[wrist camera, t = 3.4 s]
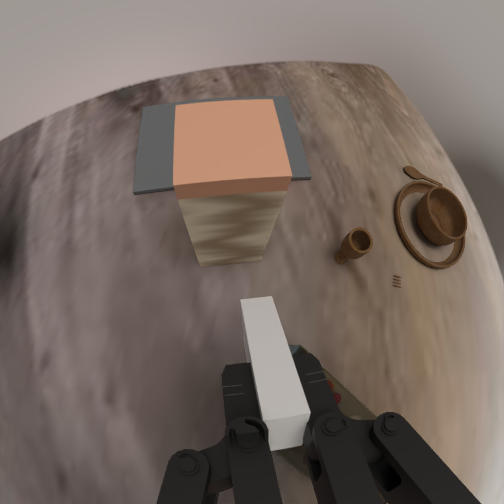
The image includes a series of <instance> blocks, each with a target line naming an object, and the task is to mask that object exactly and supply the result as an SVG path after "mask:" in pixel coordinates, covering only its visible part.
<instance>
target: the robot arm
mask: <svg viewBox="0 0 504 504" xmlns="http://www.w3.org/2000/svg"><path fill="white" fill-rule="evenodd" d="M240 301H241V315H242V329H243V342H244V348H245V353H246V359H247V363H242V364H232V365H226V366H225V369H224V371H223V373H222V385H223V395H224V406H225V416H226V426H227V427H226V431H225V436H224V438H223V439H222V441H220V442H219V443H218V444H216V445H214V446H212V447H210V448H207V449H204V450H201V451H195V450H193V449H184V450H181V451H178V452H176V453H175V454H174V455H173V456H172V457H171V459H170V460H169V462H168V466H167V469H166V472H165V476H164V479H163V483H162V486H161V490H160V493H159V496H158V500H157V503H156V504H217V500H218V495H219V492H221V491H224V490H226V489H229V488H232V487H233V491H234V499H235V504H282V500H281V495H280V491H279V487H278V482H277V478H276V473H275V469H274V464H273V460H272V455H271V451H274V450H280V449H286V448H291V447H296V446H301V445H302V443H303V442H304V445H305V449H306V452H305V455H304V458H303V464H306V463H307V466H308V470H309V473H310V477H311V480H312V484H313V487H314V491H315V494H316V498H317V501H318V504H383V502H382V499H381V497H380V494H381V495H382V496H383V497H384V499H385V500H386V501H387V503H388V504H481V503H480V502H479V501H478V500H477V499H476V498H475V496H474V495H473V494H472V493H471V492H470V491H469V490H468V489H467V488H466V486H465V485H464V484H463V483H462V482H461V481H460V480H459V479H458V477H457V476H456V475H455V474H454V473H453V472H452V471H451V470H450V469H449V467H448V466H447V465H446V464H445V463H444V462H443V461H442V460H441V459H440V457H439V456H438V455H437V454H436V453H435V452H434V451H433V450H432V449H431V447H430V446H429V445H428V444H427V443H426V442H425V441H424V440H423V439H422V437H421V436H420V435H419V434H418V433H417V432H416V431H415V430H414V429H413V427H412V426H411V425H410V424H409V423H408V422H407V421H406V420H405V419H404V418H403V417H402V416H401V415H399V414H397V413H394V412H386V413H383V414H381V415H380V416H378V417H377V418H376V420H357V419H352V418H349V417H347V416H346V415H344V414H343V413H342V412H341V411H340V409H339V407H338V405H337V403H336V400H335V398H334V395H333V393H332V391H331V388H330V386H329V383H328V381H327V380H326V376H325V374H324V372H323V369H322V367H321V364H320V362H319V360H318V359H317V358H316V357H314V356H313V355H312V354H311V353H307V354H301V355H295V356H292V355H291V352H290V349H289V346H288V343H287V340H286V337H285V334H284V331H283V328H282V325H281V322H280V319H279V316H278V313H277V311H276V308H275V305H274V302H273V299H272V296H269V297H260V298H250V299H241V300H240ZM378 491H379V492H380V494H379V492H378Z"/></svg>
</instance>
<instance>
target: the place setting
mask: <svg viewBox="0 0 504 504" xmlns="http://www.w3.org/2000/svg"><path fill="white" fill-rule="evenodd" d="M404 170H405V172H406V173H407V174H408V175H409V176H411V177H412V178H415V179H422V178H423V179H426V180H428V181H430V182H432V183H434V184H436V185H438V186H434V185H432V184H430V183H428V182H424V181H414V182H411V183H409V184H407V185H406V186H405V187H404V188H403V189H402V190H401V192H400V193H399V195H398V197H397V201H396V206H395V218H396V223H397V227H398V231H399V233H400V236H401V238H402V240H403V242H404V243H405V245H406V247H407V248H408V249H409V251H410V252H411V253H412V254H413V255H414V256H415V257H416V258H417V259H418V260H419V261H421V262H422V263H424V264H426V265H428V266H430V267H433V268H447V267H450V266H452V265H454V264H455V263H457V261H458V260H459V259H460V257H461V256H462V254H463V251H464V247H465V233H466V230H467V217H466V213H465V210H464V208H463V206H462V204H461V202H460V201H459V199H458V198H457V197H456V196H455V195H454V194H453V193H452V192H451V191H450V190H448V189H446V188H444V187H442V184H441V183H439V182H437V181H434V180H432V179H430V178H428V177H426V176H424V175H422V174H421V173H420V172H419V171H418V170H416V169H415V168H414V167H411V166H406V167H404ZM414 192H421V193H425V195H424V196H423V197H422V198H421V200H420V201H419V203H418V206H417V221H418V224H419V227H420V229H421V231H422V232H423V234H424V235H425V236H426V237H427V238H428V239H429V240H430V241H431V242H433V243H435V244H437V245H448V244H451V243H453V242H455V243H454V248H453V251H452V253H451V255H450V256H449V257H448V258H447V259H446V260H444V261H442V262H431V261H429V260H427V259H426V258H424V257H423V256H422V255H421V254H420V253H419V252H418V251H417V250H416V249H415V248H414V246H413V245H412V244H411V242H410V240H409V239H408V237H407V235H406V233H405V230H404V228H403V225H402V222H401V217H400V206H401V203H402V201H403V199H404V198H405V197H406V196H407V195H409V194H411V193H414ZM372 245H373V240H372V237H371V235H370V233H369V232H368V231H367V230H365V229H363V228H355V229H353V230H352V231H351V232H350V233H349V234H348V235H347V236H346V237H345V238H344V240H343V242H342V245H341V249H342V250H341V251H340V252H338V253H336V254H335V257H334V258H335V261H336V262H337V263H338V264H343V263H344V262H345V260H346V259H348V258H349V259H357V258H360V257H362V256H363V255H365V254H366V253H367V252H369V251H370V250H371V248H372ZM394 276H396V275H394ZM396 277H398V278H401V277H399V276H396ZM394 279H395V278H394ZM395 280H397V281H401V280H399V279H395ZM394 283H397V284H401V283H398V282H394ZM394 286H396V287H399V288H401V287H400V286H397V285H394Z"/></svg>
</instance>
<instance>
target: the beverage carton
mask: <svg viewBox="0 0 504 504" xmlns="http://www.w3.org/2000/svg"><path fill="white" fill-rule="evenodd" d="M288 346H289V349H290V352H291V355H292V356H295V355H301V354H307V353H308V351H307V350H306V349H304V348H303V347H302V346H301V345H288ZM322 369H323V372H324V374H325V376H326V380H327V381H328V383H329V386H330V388H331V391H332V393H333V395H334V398H335V400H336V403H337V405H338V407H339V409H340V411H341V412H342V413H343V414H344V415H346V416H347V417H349V418H352V419H357V420H376V418H377V417H376V416H375V415H374V414H373V413H372V412H371V411H370V410H369V409H368V408H366V407H365V406H364V405H363V404H362V403H361V402H360V401H359V400H358V399H357V398H356V397H354V396H353V395H352V394H351V393H350V392H349V391H348V390H347V389H346V388H345V387H344V386H343V385H342V384H341V383H340V382H339V381H337V380H336V379H335V378H334V377H333V376H332V375H331V374H330V373H329V372H328V371H326V370H325V369H324V368H322ZM274 451H275V452H277V453H278V454H279V455H280V456H281V457H283V458H284V459H285V460H286V461H288V462H289V463H290V464H291V465H292V466H294V467H295V468H296V469H298V470H299V471H300V472H301V473H303V474H304V475H305V476H307V477H308V478H309V479H311V477H310V473H309V470H308V466H307V463H306V464H303V458H304V455H305V452H306V449H305V445H304V442H303V443H302V445H301V446H296V447H291V448H286V449H280V450H274ZM378 492H379V491H378ZM379 494H380V492H379ZM380 497H381V499H382V502H383V504H386V503H387V501H386V500H385V499H384V497H383V496H382V495H381V494H380Z"/></svg>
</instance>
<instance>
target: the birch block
mask: <svg viewBox="0 0 504 504" xmlns="http://www.w3.org/2000/svg"><path fill="white" fill-rule="evenodd" d="M291 178H292V172H291V168H290V164H289V160H288V156H287V152H286V148H285V144H284V140H283V136H282V132H281V128H280V124H279V121H278V117H277V113H276V110H275V106H274V102H273V99H251V100H227V101H213V102H201V103H191V104H182V105H176V109H175V128H174V157H173V187H174V190H175V193H176V196H177V199H178V202H179V206H180V209H181V212H182V215H183V218H184V221H185V224H186V227H187V230H188V233H189V236H190V239H191V242H192V244H193V247H194V250H195V253H196V256H197V259H198V262H199V264H200V267H205V266H215V265H225V264H235V263H245V262H255V261H261V260H262V258H263V255H264V252H265V249H266V247H267V244H268V241H269V239H270V236H271V233H272V231H273V228H274V225H275V222H276V220H277V217H278V214H279V211H280V209H281V206H282V203H283V201H284V198H285V195H286V192H287V190H288V187H289V184H290V181H291Z"/></svg>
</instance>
